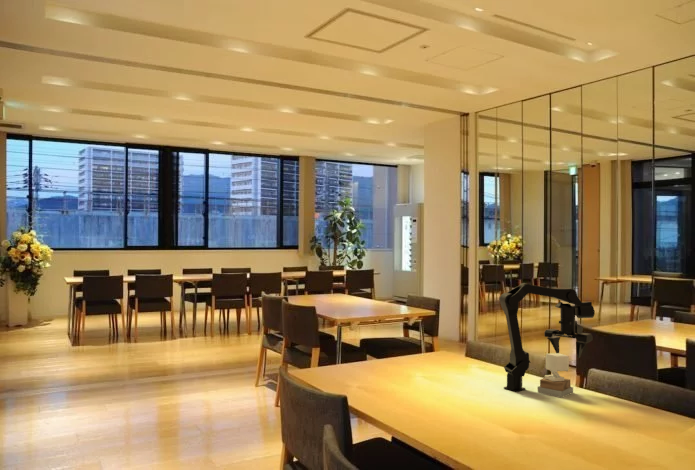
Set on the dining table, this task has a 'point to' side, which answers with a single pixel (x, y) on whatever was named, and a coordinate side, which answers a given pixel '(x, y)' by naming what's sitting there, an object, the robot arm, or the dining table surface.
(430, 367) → the dining table surface
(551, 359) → the security camera
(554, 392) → the tower base
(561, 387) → the tower top
